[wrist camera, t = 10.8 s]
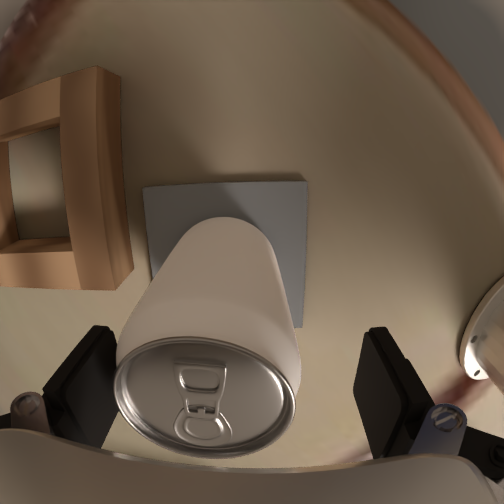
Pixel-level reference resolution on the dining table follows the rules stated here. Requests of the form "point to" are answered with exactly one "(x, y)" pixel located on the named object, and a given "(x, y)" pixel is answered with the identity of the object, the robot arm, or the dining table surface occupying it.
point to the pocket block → (70, 185)
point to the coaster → (241, 207)
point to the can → (211, 347)
